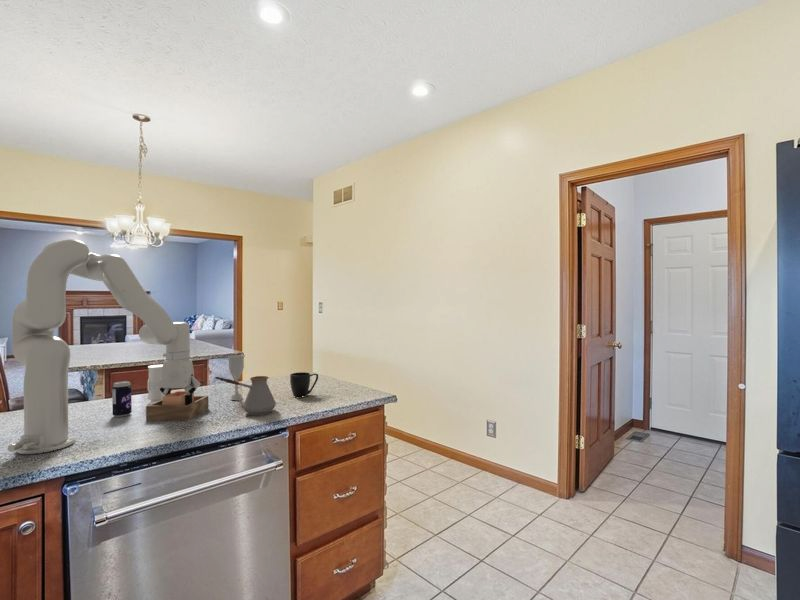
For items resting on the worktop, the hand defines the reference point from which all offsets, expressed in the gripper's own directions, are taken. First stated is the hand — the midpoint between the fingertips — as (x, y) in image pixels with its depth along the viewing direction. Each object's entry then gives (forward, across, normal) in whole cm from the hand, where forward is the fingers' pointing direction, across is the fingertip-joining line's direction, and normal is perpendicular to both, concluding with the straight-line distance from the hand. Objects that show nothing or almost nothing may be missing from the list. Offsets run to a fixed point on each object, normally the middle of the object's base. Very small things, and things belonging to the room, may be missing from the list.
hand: (178, 405), depth 148 cm
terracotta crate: (+1, 0, 0) cm, 1 cm away
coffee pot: (+4, +25, -1) cm, 25 cm away
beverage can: (+4, -20, -1) cm, 20 cm away
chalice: (+4, +12, +22) cm, 25 cm away
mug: (+4, +39, +28) cm, 48 cm away
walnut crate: (+3, 0, 0) cm, 3 cm away
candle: (+4, -18, +17) cm, 25 cm away
